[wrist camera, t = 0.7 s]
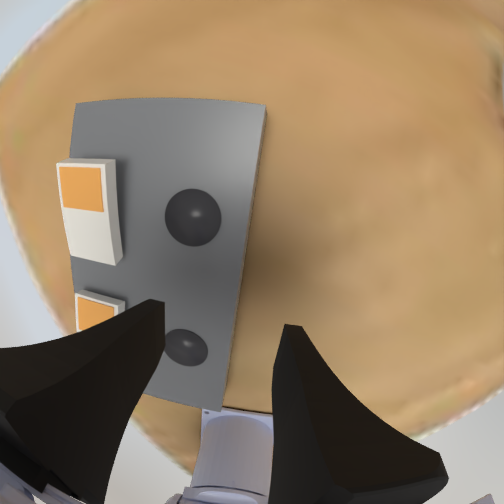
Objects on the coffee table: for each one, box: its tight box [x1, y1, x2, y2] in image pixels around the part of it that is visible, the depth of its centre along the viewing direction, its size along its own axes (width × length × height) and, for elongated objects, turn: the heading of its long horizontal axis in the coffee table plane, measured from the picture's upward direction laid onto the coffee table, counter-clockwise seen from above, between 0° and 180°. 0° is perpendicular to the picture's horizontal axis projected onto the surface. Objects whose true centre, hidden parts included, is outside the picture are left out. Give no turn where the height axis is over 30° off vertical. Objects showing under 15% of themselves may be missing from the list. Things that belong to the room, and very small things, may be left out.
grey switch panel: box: [70, 98, 267, 412], centre depth 18 cm, size 22×12×3 cm, turn 172°
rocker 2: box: [75, 290, 125, 332], centre depth 17 cm, size 6×4×1 cm, turn 171°
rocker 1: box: [56, 158, 123, 266], centre depth 14 cm, size 6×4×1 cm, turn 172°
